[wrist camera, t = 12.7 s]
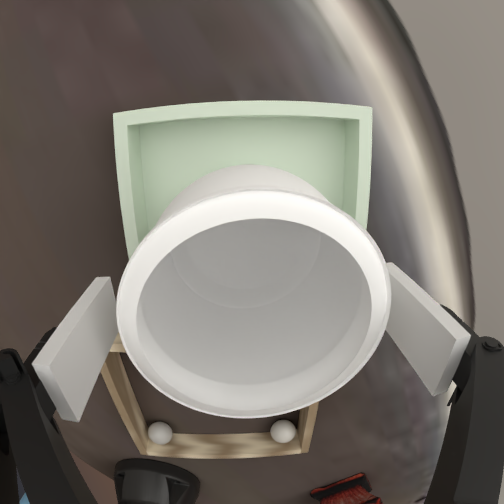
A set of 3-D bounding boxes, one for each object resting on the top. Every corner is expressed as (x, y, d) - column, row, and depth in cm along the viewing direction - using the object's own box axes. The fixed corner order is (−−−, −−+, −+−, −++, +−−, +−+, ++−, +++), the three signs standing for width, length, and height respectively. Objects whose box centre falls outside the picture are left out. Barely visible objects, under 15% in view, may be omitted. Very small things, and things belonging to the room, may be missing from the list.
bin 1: (153, 313, 28) (145, 335, 25) (128, 115, 21) (113, 113, 18) (341, 305, 29) (352, 325, 26) (354, 109, 22) (372, 107, 19)
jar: (260, 126, 22) (305, 119, 8) (330, 231, 26) (421, 342, 12) (151, 207, 24) (62, 306, 10) (228, 298, 27) (227, 444, 14)
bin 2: (145, 435, 36) (141, 454, 33) (100, 321, 28) (89, 342, 25) (303, 432, 37) (307, 452, 34) (320, 315, 29) (330, 337, 26)
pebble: (269, 429, 36) (271, 448, 33) (269, 415, 35) (271, 435, 32) (292, 427, 36) (296, 446, 33) (294, 413, 35) (298, 433, 32)
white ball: (153, 429, 35) (149, 448, 32) (147, 416, 34) (143, 435, 31) (175, 431, 36) (173, 449, 33) (171, 417, 34) (168, 436, 31)
